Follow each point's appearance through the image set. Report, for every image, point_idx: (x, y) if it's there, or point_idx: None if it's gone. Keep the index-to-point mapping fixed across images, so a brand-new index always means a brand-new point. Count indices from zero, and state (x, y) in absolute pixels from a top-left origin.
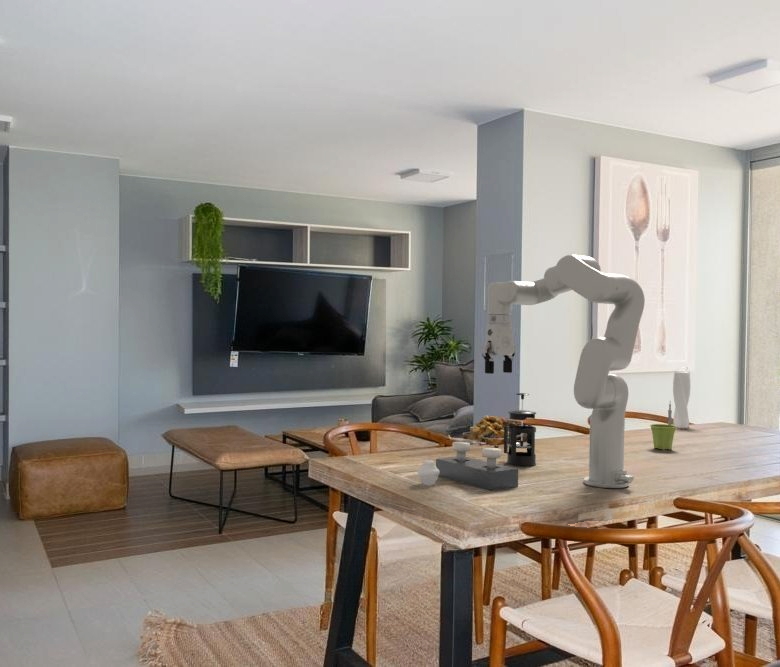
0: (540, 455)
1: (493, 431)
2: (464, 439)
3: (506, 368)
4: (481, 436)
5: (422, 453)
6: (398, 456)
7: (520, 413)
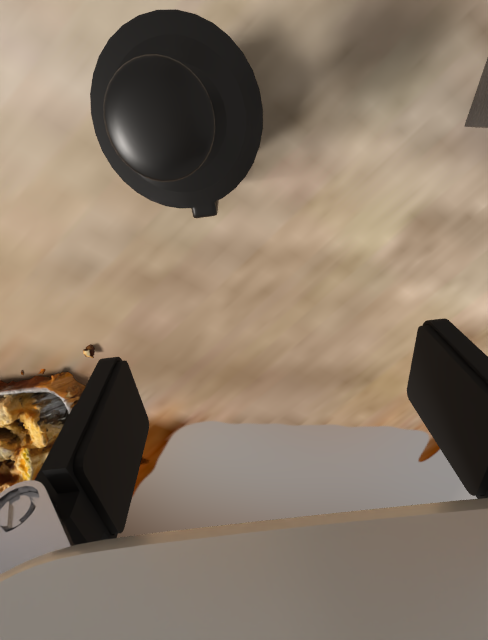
0: (23, 210)
1: (39, 423)
2: None
3: (129, 425)
4: None
5: (302, 385)
6: (375, 382)
7: (237, 73)
